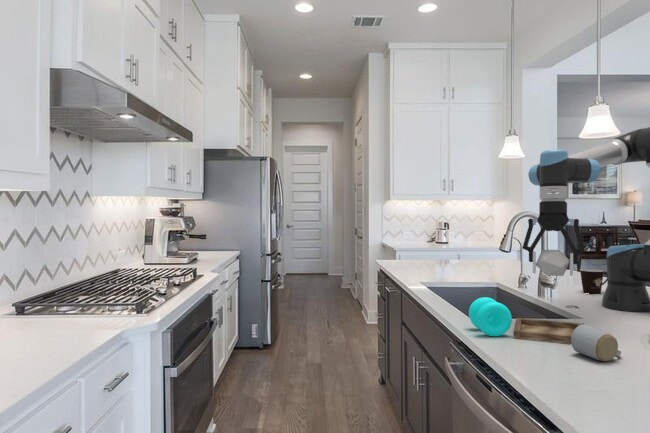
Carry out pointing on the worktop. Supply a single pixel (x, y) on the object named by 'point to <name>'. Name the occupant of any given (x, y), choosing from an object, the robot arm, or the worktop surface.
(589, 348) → the ceramic mug
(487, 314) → the donuts
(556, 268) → the die
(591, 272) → the coffee mug
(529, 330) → the tray
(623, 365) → the worktop surface
